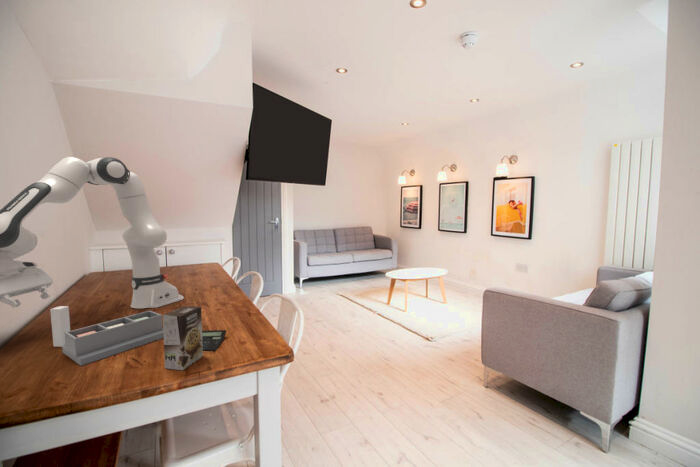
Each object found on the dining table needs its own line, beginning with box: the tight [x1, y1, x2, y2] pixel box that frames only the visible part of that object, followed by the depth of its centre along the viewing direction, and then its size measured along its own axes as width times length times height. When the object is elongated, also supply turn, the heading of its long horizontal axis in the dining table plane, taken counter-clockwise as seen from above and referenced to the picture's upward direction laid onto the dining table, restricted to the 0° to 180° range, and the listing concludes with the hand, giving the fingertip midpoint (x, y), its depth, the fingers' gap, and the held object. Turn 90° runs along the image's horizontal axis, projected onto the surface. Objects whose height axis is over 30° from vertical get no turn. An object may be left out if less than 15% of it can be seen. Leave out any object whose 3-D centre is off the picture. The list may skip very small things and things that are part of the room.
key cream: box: [106, 323, 125, 329], centre depth 107 cm, size 5×5×2 cm
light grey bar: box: [49, 305, 71, 348], centre depth 107 cm, size 3×3×13 cm
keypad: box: [61, 310, 164, 367], centre depth 107 cm, size 25×16×8 cm, turn 147°
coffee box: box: [162, 305, 204, 371], centre depth 94 cm, size 9×6×16 cm
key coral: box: [76, 331, 95, 338], centre depth 100 cm, size 5×5×2 cm
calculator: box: [202, 329, 227, 352], centre depth 107 cm, size 9×12×3 cm
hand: (32, 301), depth 106 cm, fingers open, 8 cm apart
